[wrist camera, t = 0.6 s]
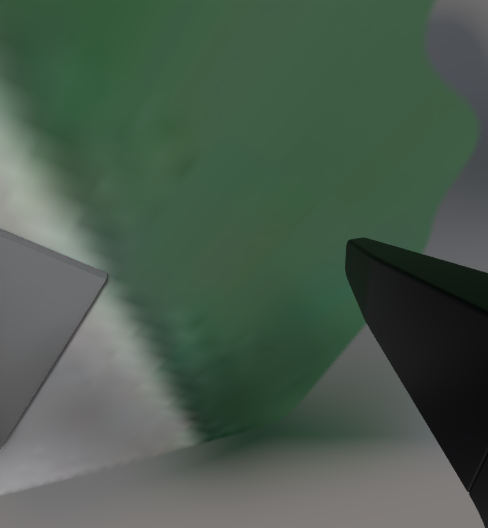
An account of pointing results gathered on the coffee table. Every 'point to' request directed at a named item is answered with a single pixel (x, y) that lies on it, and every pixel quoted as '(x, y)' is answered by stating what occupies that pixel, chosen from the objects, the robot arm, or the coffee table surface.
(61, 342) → the mat
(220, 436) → the coffee table surface
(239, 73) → the coffee table surface
